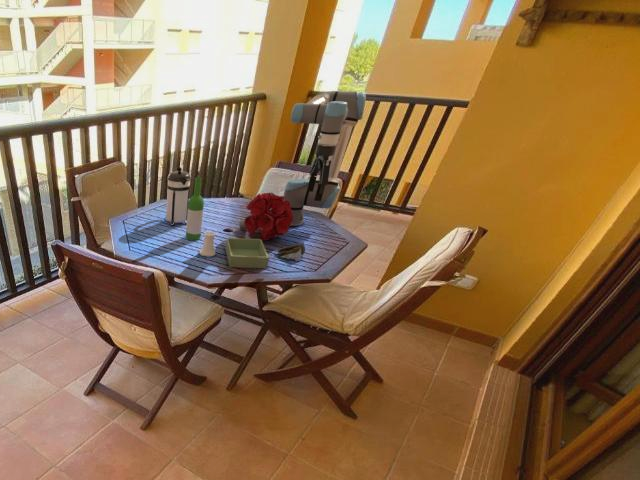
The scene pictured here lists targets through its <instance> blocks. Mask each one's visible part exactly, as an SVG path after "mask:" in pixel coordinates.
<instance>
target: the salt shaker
mask: <svg viewBox="0 0 640 480" xmlns="http://www.w3.org/2000/svg"><path fill="white" fill-rule="evenodd" d="M203 234H204V238H203V243H202V246H201V249H200V250H199V255H201V256H202V257H207V258H209V257H214V256H215V255H216V250H215V247H214V240H215V235H216V233H215V232H213V231H205V232H204V233H203Z"/></svg>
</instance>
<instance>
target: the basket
mask: <svg viewBox="0 0 640 480" xmlns="http://www.w3.org/2000/svg"><path fill="white" fill-rule="evenodd" d="M224 250H225V253H226V259H227V263H228V267H229V268H244V269H245V268H246V269H247V268H248V269H268V265H269V260H270V256H269V254H268V252H267V248H266V247H265V245H264V241H263V240H262V238H239V237H237V238H236V237H226V241H225V246H224Z"/></svg>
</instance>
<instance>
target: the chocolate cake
mask: <svg viewBox="0 0 640 480" xmlns="http://www.w3.org/2000/svg"><path fill="white" fill-rule="evenodd" d="M277 251H278V254H279V258H282V259H286V261H289V260H294V261H295V262H298V261H299V262H300V261H301V260H302V256H304V254H305V253H306V246H305V242H300V243H295V244H291V245H287V246H282V247H279V248H278V249H277Z"/></svg>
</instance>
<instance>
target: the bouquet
mask: <svg viewBox="0 0 640 480" xmlns="http://www.w3.org/2000/svg"><path fill="white" fill-rule="evenodd" d="M269 193H270V192H264V193H258V194H257V195H256V196H255V197H254V198H253V199H251V200H250V201H249V203H248V204H247V205H246V209H247V210H249V211H250V214H249V215H248V216H246V217H245V218H244V219H242V220H240V221H239V224H238V226H239V228H240V230H243V231H244V230H246V231H247V232H248V234H249V235H252V234H254V233H256V232H257V231H258V229H259V230H261V231H260V235H261V236H260V239H261V240H262V242H264V241H269V240H271V239H272V238H275V237H279V236H281V237H283V236H285V235H286V233H288V232H289V228H291V227H290V225H291V223H292V220H293V218H292V217H294V215H292V212H291V207H290V203H289V201H287V200H285V201H283V200H284V199H285V197H283V196H284V195H277V194H275V195H273V194H274V193H273V194H269Z"/></svg>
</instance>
